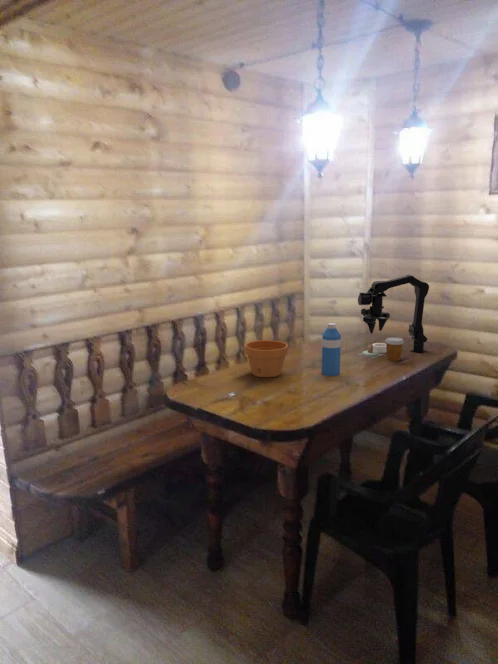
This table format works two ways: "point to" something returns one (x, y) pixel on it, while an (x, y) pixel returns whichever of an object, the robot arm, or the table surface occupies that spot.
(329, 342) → the water bottle
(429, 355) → the table surface
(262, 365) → the flower pot
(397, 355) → the disposable coffee cup
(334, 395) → the table surface
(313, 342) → the table surface
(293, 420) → the table surface
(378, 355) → the coaster
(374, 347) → the bowl
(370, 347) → the lid
